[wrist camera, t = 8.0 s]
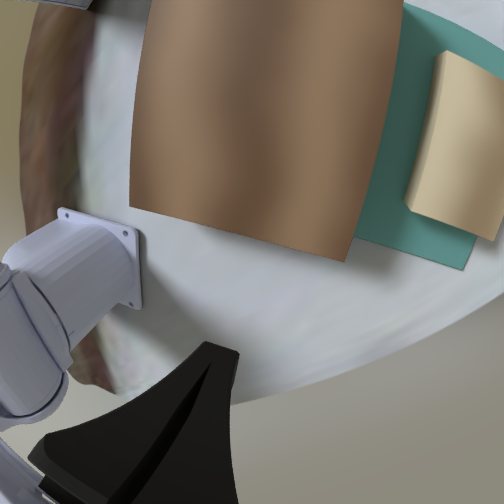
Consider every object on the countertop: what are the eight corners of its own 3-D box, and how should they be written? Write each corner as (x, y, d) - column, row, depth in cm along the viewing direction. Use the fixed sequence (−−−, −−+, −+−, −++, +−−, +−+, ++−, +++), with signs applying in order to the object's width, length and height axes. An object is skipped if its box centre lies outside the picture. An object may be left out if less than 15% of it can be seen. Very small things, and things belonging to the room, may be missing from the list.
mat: (347, 232, 17) (347, 234, 17) (396, 1, 10) (397, 0, 10) (460, 267, 16) (461, 269, 16) (515, 60, 9) (517, 60, 9)
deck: (164, 188, 19) (129, 206, 16) (195, -21, 12) (164, -43, 8) (342, 231, 17) (344, 262, 14) (391, 0, 10) (405, -27, 7)
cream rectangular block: (493, 241, 12) (480, 229, 14) (530, 99, 8) (513, 98, 10) (411, 211, 13) (402, 200, 15) (446, 50, 9) (434, 56, 11)
